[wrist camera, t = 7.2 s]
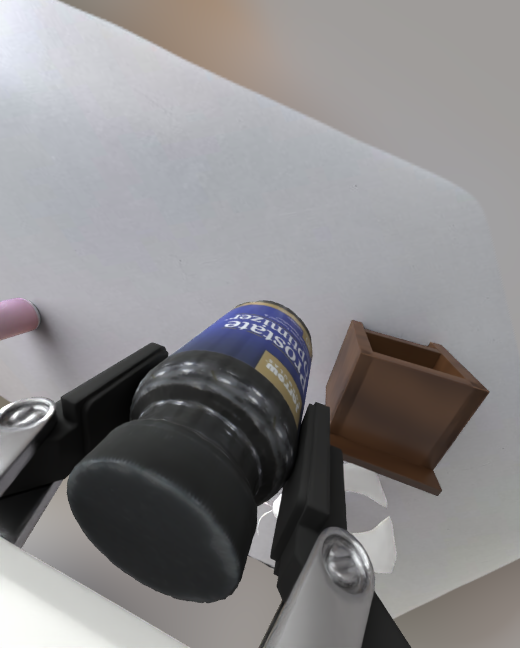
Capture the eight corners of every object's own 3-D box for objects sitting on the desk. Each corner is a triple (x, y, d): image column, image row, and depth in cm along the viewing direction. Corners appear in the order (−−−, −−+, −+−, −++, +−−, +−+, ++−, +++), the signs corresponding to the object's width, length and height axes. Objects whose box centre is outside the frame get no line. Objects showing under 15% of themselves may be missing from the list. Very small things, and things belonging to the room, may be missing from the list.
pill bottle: (333, 331, 14) (342, 569, 4) (282, 401, 17) (212, 650, 7) (243, 278, 14) (48, 377, 4) (207, 354, 17) (32, 525, 7)
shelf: (351, 319, 29) (363, 364, 19) (441, 344, 27) (507, 408, 17) (325, 386, 33) (324, 453, 23) (403, 412, 31) (438, 496, 21)
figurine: (413, 594, 30) (394, 659, 16) (326, 581, 34) (254, 625, 20) (377, 451, 39) (347, 417, 26) (313, 456, 44) (258, 428, 30)
